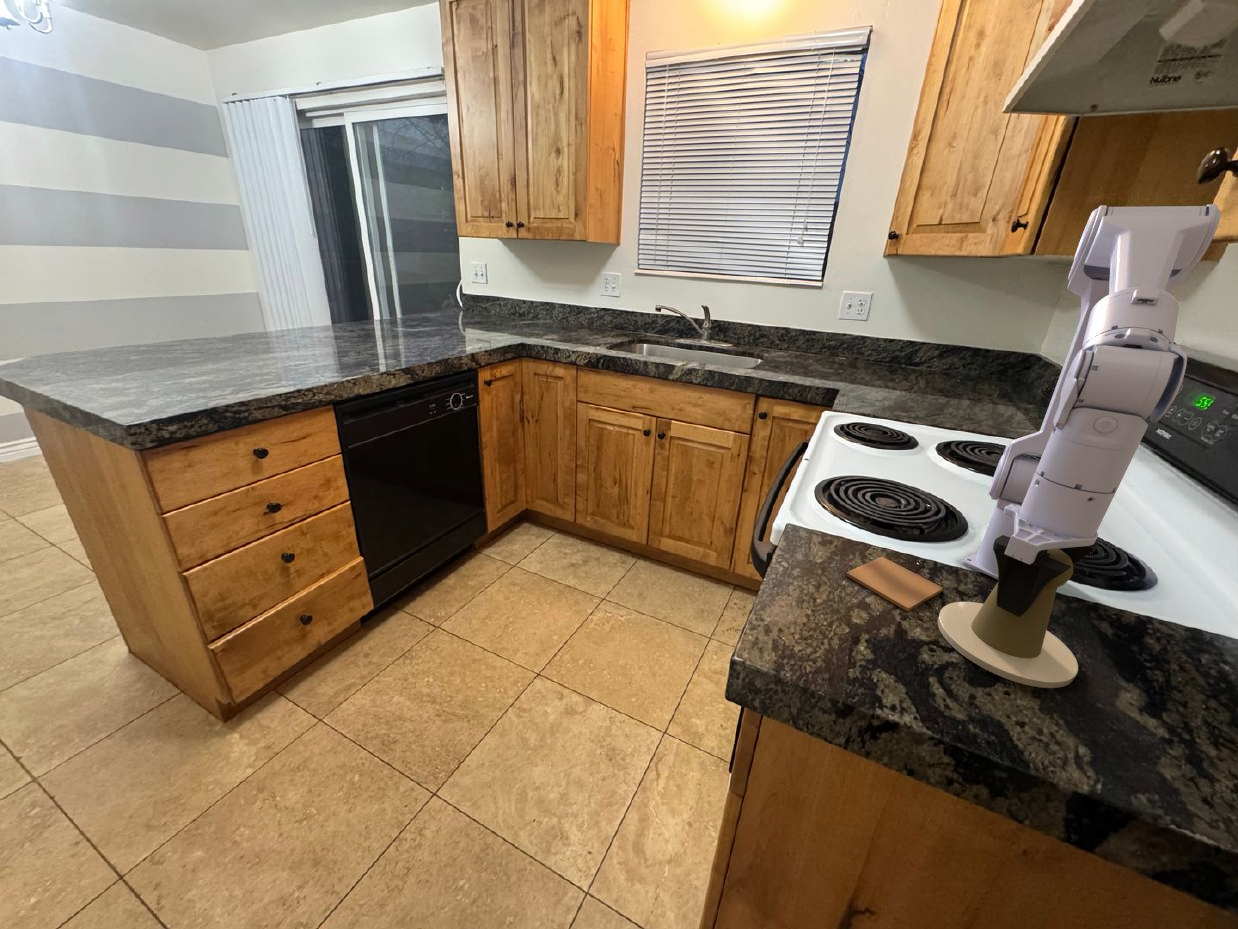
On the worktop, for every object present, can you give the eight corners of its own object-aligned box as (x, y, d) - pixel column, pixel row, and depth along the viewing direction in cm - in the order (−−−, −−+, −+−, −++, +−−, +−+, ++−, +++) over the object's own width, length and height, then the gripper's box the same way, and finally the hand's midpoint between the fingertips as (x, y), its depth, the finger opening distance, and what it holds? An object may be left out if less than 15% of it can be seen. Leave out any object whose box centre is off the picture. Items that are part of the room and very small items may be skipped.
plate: (967, 595, 60) (969, 590, 60) (1093, 659, 51) (1096, 653, 51) (915, 628, 54) (917, 622, 54) (1048, 707, 45) (1051, 701, 45)
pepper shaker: (1054, 663, 49) (1101, 570, 45) (986, 652, 50) (1027, 559, 46) (1021, 623, 55) (1060, 537, 50) (961, 614, 56) (995, 528, 51)
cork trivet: (880, 559, 67) (881, 556, 67) (942, 591, 61) (943, 588, 61) (845, 575, 63) (846, 572, 63) (907, 612, 57) (908, 608, 56)
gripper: (1052, 454, 52) (1006, 563, 57) (990, 478, 45) (944, 601, 50) (1142, 478, 47) (1083, 596, 52) (1089, 510, 39) (1026, 645, 44)
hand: (1020, 601), depth 51 cm, fingers closed on pepper shaker, 5 cm apart
